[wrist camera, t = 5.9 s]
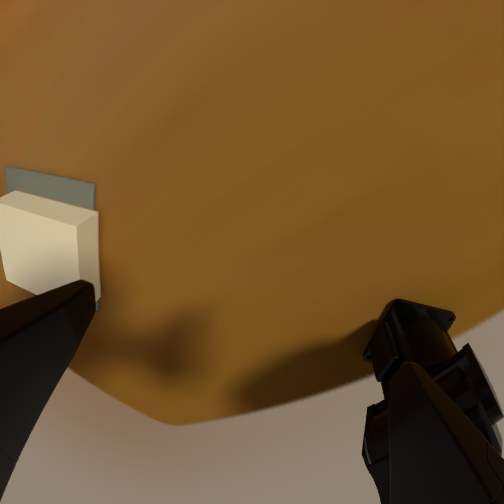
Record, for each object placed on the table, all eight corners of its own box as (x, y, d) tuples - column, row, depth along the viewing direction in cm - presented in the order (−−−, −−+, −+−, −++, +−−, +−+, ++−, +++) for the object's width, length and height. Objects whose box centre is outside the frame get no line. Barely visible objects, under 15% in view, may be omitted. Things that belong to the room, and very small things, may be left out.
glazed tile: (76, 226, 18) (-7, 201, 18) (84, 315, 22) (6, 279, 22) (99, 211, 21) (16, 189, 21) (101, 295, 24) (24, 265, 25)
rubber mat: (96, 183, 20) (93, 184, 20) (99, 308, 26) (97, 310, 25) (8, 165, 20) (5, 166, 20) (20, 275, 26) (18, 276, 25)
